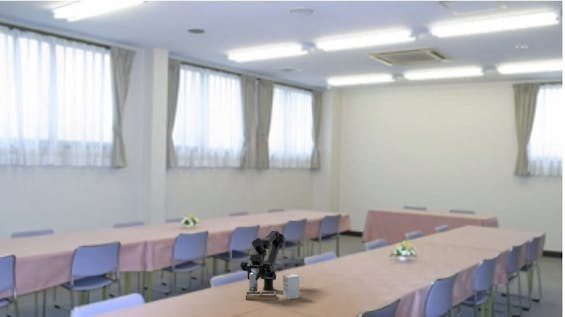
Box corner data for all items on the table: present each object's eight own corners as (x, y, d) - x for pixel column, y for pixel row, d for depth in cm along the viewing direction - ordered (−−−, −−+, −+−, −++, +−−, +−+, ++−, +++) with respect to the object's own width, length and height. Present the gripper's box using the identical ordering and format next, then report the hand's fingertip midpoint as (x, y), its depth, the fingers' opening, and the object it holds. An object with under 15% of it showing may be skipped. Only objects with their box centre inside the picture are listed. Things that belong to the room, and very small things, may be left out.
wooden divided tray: (245, 296, 298) (245, 291, 298) (275, 295, 299) (275, 291, 299) (245, 299, 289) (245, 295, 289) (276, 299, 290) (276, 294, 290)
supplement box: (293, 295, 300) (293, 273, 301) (299, 298, 294) (299, 275, 294) (282, 296, 297) (282, 274, 298) (288, 299, 290) (288, 277, 291)
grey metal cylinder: (248, 289, 296) (248, 272, 296) (256, 289, 297) (256, 272, 297) (250, 291, 291) (250, 274, 291) (258, 291, 292) (258, 273, 293)
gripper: (241, 248, 302) (233, 270, 291) (271, 249, 295) (263, 272, 285) (246, 259, 309) (239, 281, 298) (275, 261, 302) (269, 283, 292)
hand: (252, 279), depth 293 cm, fingers closed on grey metal cylinder, 5 cm apart
